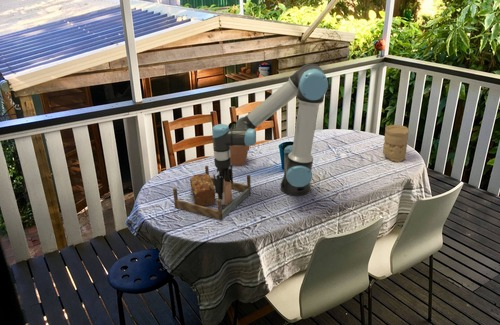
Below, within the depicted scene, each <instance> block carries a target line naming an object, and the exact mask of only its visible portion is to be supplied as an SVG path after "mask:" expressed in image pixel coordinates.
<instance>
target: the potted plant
mask: <svg viewBox="0 0 500 325" xmlns="http://www.w3.org/2000/svg"><path fill="white" fill-rule="evenodd" d="M236 123H237V121H235V120H233V121H231V122H230V123H229V124H227V125H228V127H229V129H236ZM249 150H250V146H230V158H231V165H233V166H236V167H237V166H239V167H240V166H243V165H245V164H246V163H247V158H248V153H249Z"/></svg>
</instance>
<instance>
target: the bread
mask: <svg viewBox="0 0 500 325" xmlns="http://www.w3.org/2000/svg"><path fill="white" fill-rule="evenodd" d="M211 177H212V176H211V175H210V174H209V175H208V174H206V173H199V174H195V175H194V176H192V177H190V178H189V182H190V189H191V192H192V197H193V202H194V204H196V205H200V206H203V207H206V206H207V207H208V206H213V205H215V204H216V193H215V186H214V185H213V182H212V180H211Z"/></svg>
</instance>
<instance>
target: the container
mask: <svg viewBox="0 0 500 325" xmlns="http://www.w3.org/2000/svg"><path fill="white" fill-rule="evenodd" d="M409 132H410V130H409V129H408V127H407V126H405V125H402V124H401V125H400V124H390V125H387V126H385V130H384V141H383V149H382V154H383V155H384V156H385V157H386V158H387V159H388V160H389V161H391V162H395V163H401V162H402V161H404V160H406V156H407V148H408V142H409V141H408V140H409Z"/></svg>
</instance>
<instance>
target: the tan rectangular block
mask: <svg viewBox="0 0 500 325" xmlns="http://www.w3.org/2000/svg"><path fill="white" fill-rule="evenodd" d="M223 192H224V198H225V205H224V206H228V205H229V204H230V203H231V202H233V193H232V192H233V190H232V186H231V182H227V181H224V186H223ZM218 200H219V195H218V194H217V201H218Z"/></svg>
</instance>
